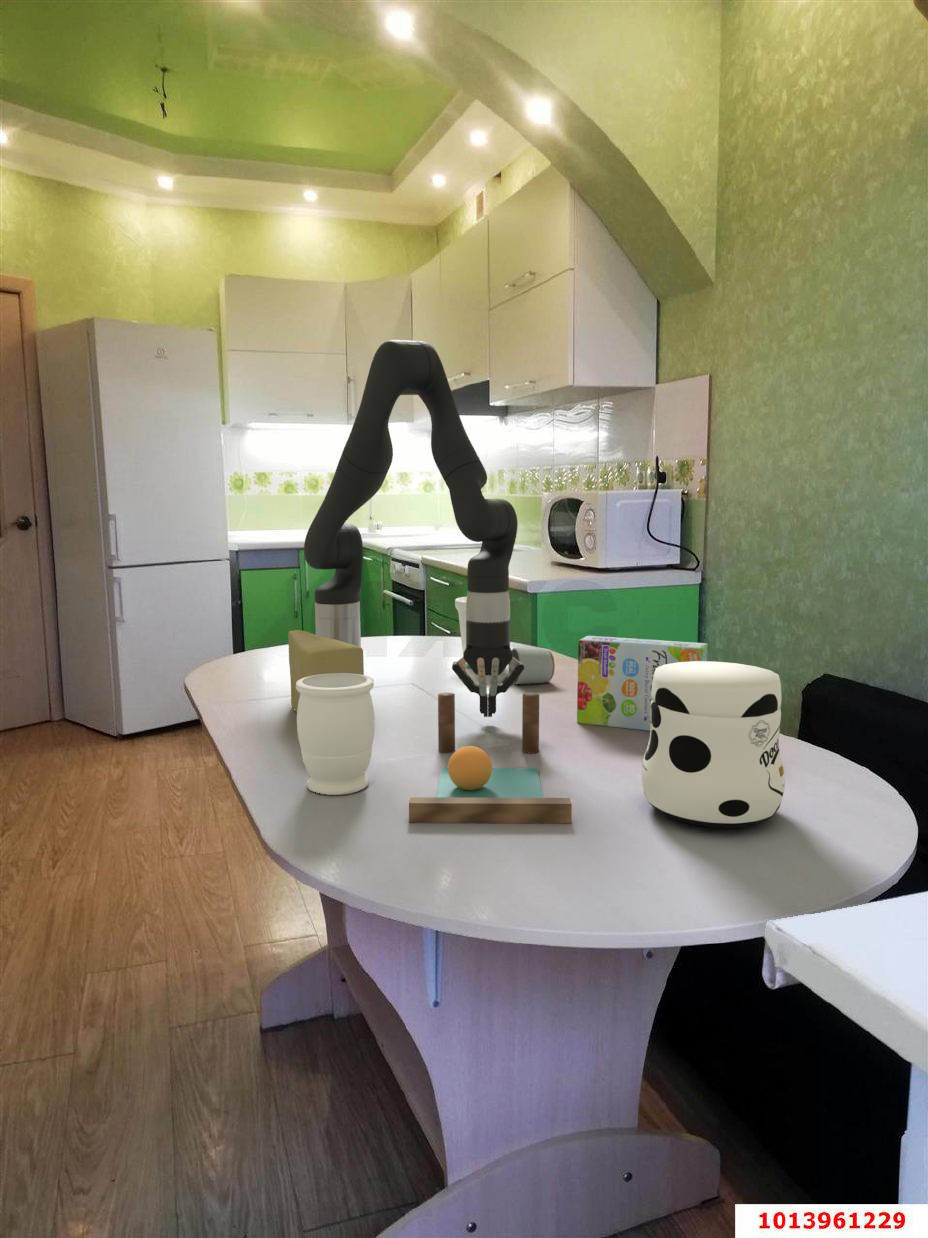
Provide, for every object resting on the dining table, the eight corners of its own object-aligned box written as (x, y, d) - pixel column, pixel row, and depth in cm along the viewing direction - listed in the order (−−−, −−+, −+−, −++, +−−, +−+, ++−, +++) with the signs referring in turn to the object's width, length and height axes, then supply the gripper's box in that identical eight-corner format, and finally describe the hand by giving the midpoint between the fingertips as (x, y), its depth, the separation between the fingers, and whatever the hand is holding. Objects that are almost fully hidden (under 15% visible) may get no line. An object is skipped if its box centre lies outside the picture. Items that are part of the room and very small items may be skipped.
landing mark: (435, 804, 112) (435, 803, 112) (441, 769, 126) (441, 768, 126) (543, 805, 112) (543, 803, 112) (536, 769, 126) (536, 768, 126)
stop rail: (409, 822, 106) (408, 803, 106) (410, 816, 108) (410, 797, 108) (571, 823, 106) (571, 803, 106) (569, 817, 108) (570, 798, 108)
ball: (444, 765, 114) (450, 735, 119) (445, 798, 117) (451, 767, 122) (489, 768, 113) (494, 738, 118) (489, 801, 116) (493, 770, 121)
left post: (438, 753, 134) (437, 696, 132) (438, 748, 136) (438, 692, 135) (454, 753, 134) (454, 696, 132) (455, 748, 136) (454, 692, 135)
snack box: (705, 729, 146) (708, 642, 144) (699, 738, 141) (703, 648, 139) (584, 716, 155) (586, 633, 153) (575, 723, 150) (576, 638, 148)
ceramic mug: (556, 685, 178) (556, 648, 177) (519, 688, 176) (519, 651, 175) (537, 675, 188) (537, 640, 187) (502, 678, 186) (502, 643, 185)
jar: (388, 778, 123) (386, 674, 120) (355, 803, 113) (353, 691, 111) (321, 770, 126) (318, 669, 124) (284, 794, 116) (280, 685, 114)
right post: (522, 753, 133) (522, 696, 132) (521, 748, 136) (522, 692, 135) (539, 753, 133) (539, 696, 132) (538, 748, 136) (538, 692, 135)
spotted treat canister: (813, 829, 104) (822, 683, 101) (685, 847, 99) (691, 694, 96) (730, 782, 120) (735, 656, 117) (617, 795, 115) (620, 664, 112)
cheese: (269, 710, 160) (266, 630, 158) (319, 703, 165) (316, 626, 162) (312, 740, 141) (309, 650, 139) (367, 731, 146) (365, 644, 144)
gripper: (448, 620, 143) (449, 721, 146) (528, 620, 143) (527, 721, 146) (450, 613, 151) (450, 710, 153) (525, 613, 150) (525, 710, 153)
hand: (488, 715), depth 149 cm, fingers closed
